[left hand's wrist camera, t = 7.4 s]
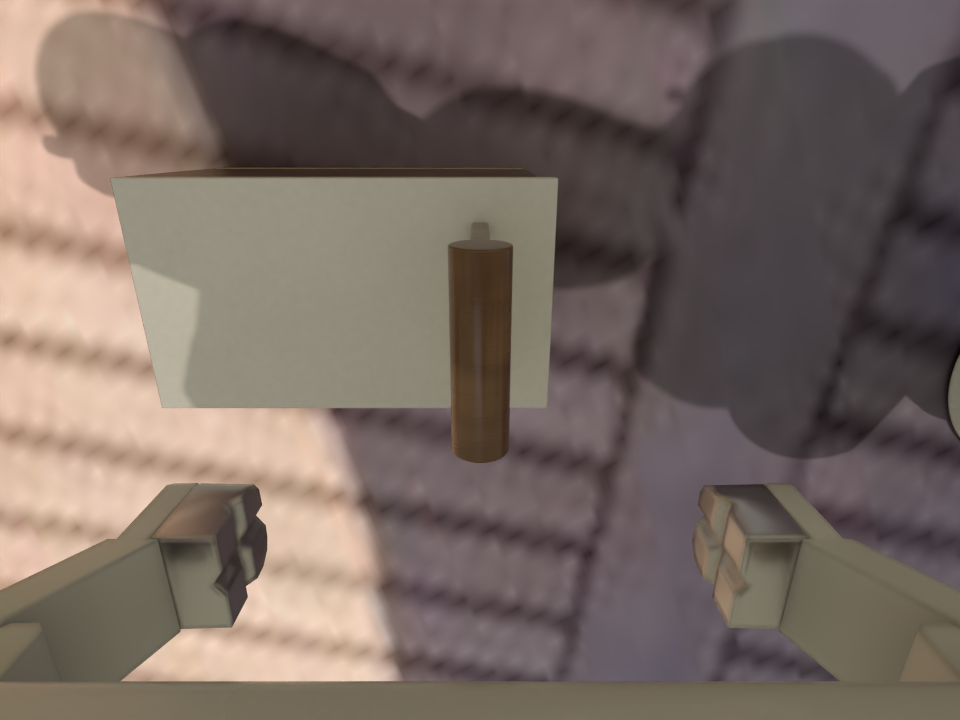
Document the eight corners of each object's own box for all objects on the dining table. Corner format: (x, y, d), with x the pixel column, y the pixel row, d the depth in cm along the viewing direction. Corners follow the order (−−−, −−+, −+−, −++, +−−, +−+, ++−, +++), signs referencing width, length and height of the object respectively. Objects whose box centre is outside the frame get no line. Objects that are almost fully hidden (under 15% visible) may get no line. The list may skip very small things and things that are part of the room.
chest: (522, 167, 32) (539, 176, 23) (518, 336, 36) (531, 400, 27) (221, 167, 32) (122, 176, 23) (248, 336, 36) (171, 400, 27)
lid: (555, 176, 23) (594, 192, 15) (545, 400, 27) (571, 503, 19) (122, 176, 23) (-57, 192, 15) (171, 400, 27) (46, 504, 19)
